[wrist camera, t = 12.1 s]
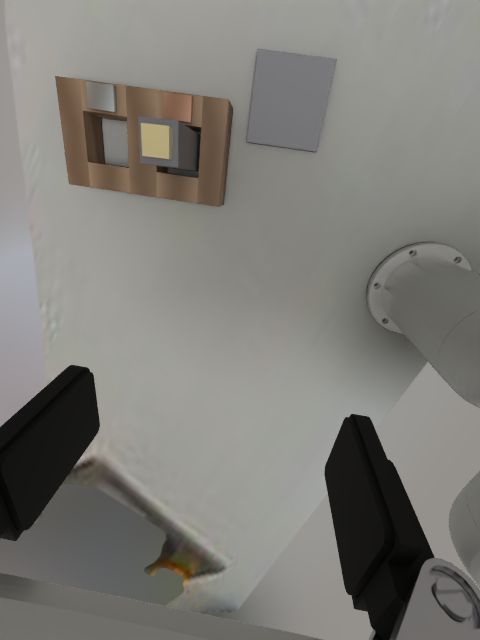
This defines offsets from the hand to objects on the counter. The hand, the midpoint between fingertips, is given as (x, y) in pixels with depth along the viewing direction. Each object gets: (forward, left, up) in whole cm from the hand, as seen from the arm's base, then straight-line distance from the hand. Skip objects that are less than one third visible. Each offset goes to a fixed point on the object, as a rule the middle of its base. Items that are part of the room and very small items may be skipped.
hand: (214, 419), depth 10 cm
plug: (+10, -10, -30) cm, 33 cm away
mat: (-1, -16, -30) cm, 34 cm away
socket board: (+14, -10, -30) cm, 35 cm away
